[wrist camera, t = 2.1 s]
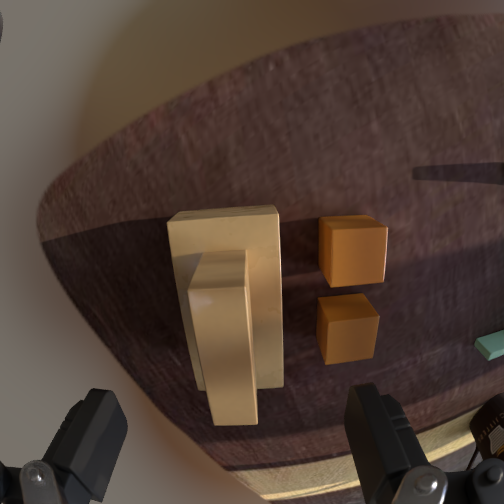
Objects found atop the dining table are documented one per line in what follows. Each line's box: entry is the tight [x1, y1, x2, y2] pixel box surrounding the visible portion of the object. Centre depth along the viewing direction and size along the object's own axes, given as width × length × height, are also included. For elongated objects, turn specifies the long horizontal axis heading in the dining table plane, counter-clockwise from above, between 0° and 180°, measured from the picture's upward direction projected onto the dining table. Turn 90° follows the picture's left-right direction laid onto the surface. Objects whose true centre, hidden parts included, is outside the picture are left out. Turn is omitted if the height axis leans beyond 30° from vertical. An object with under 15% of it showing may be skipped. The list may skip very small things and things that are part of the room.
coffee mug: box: [466, 393, 504, 471], centre depth 20 cm, size 12×9×10 cm
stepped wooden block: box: [167, 205, 283, 425], centre depth 15 cm, size 10×5×8 cm, turn 4°
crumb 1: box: [318, 215, 388, 287], centre depth 16 cm, size 3×3×3 cm
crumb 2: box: [316, 293, 379, 365], centre depth 17 cm, size 3×3×3 cm
